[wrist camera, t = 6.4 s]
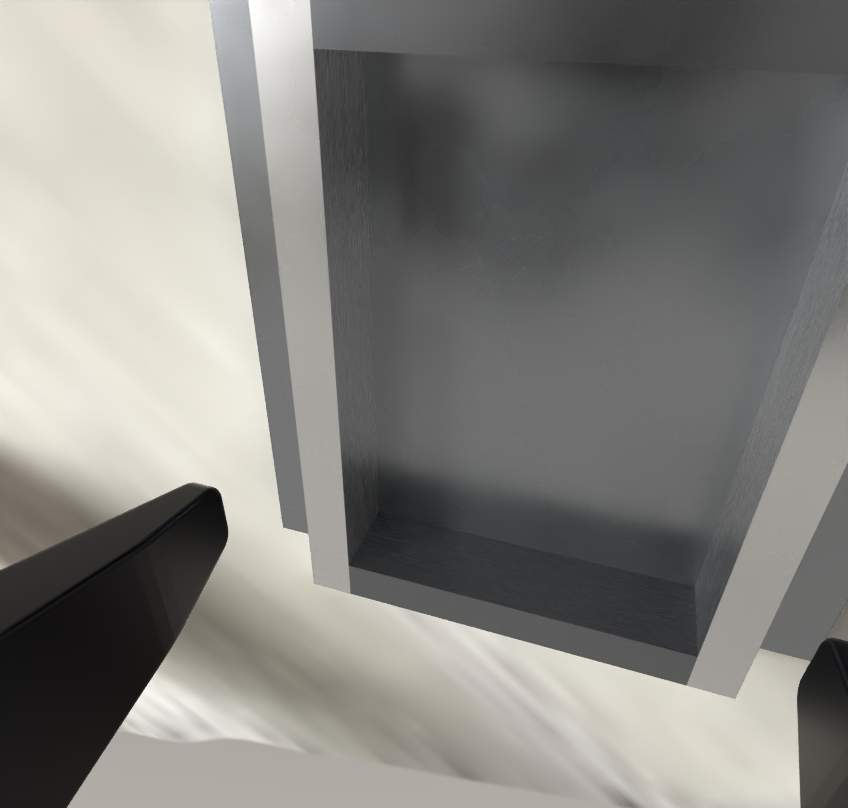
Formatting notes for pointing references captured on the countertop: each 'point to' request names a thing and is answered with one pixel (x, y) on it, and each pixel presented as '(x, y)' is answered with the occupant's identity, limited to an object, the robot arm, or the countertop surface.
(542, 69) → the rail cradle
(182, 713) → the countertop surface
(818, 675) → the robot arm
